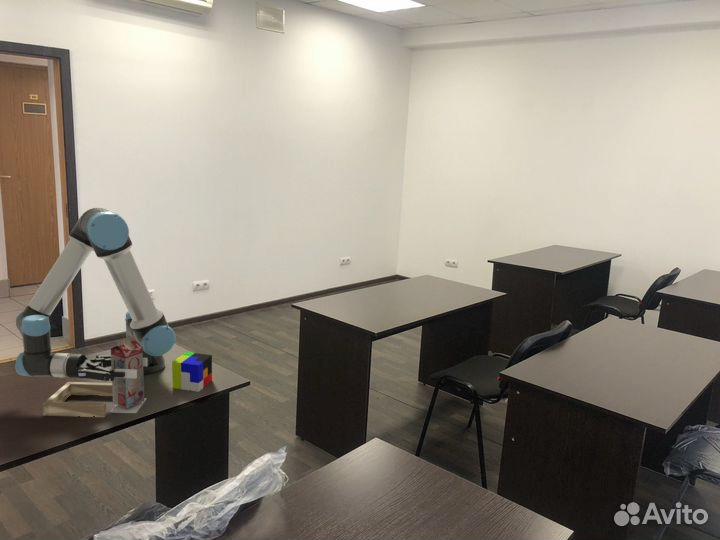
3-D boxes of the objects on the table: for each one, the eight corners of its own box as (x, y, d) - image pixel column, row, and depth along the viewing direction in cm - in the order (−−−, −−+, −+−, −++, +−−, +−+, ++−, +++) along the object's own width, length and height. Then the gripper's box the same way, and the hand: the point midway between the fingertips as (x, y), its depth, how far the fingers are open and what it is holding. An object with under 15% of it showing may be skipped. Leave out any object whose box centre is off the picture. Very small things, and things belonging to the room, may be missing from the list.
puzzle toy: (198, 392, 189) (198, 365, 187) (172, 388, 191) (172, 361, 189) (212, 380, 199) (211, 355, 196) (187, 377, 200) (186, 351, 198)
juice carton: (144, 400, 177) (142, 337, 173) (127, 408, 171) (124, 343, 167) (130, 395, 180) (127, 333, 176) (113, 403, 174) (110, 338, 170)
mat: (122, 398, 181) (122, 397, 181) (146, 399, 181) (146, 398, 181) (110, 412, 171) (110, 411, 171) (135, 413, 172) (135, 412, 171)
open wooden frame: (68, 392, 183) (67, 381, 182) (124, 394, 184) (123, 383, 183) (43, 415, 167) (42, 403, 166) (104, 417, 168) (103, 405, 167)
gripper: (85, 363, 184) (153, 365, 185) (53, 391, 163) (129, 393, 164) (84, 342, 182) (152, 345, 183) (51, 367, 161) (128, 370, 162)
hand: (141, 367), depth 174 cm, fingers closed on juice carton, 9 cm apart
